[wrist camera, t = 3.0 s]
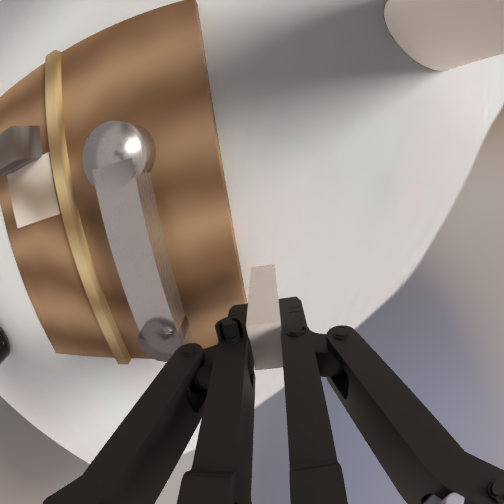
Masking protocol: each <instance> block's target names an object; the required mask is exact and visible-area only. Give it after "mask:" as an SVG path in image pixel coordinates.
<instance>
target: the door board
mask: <svg viewBox="0 0 504 504" xmlns="http://www.w3.org/2000/svg"><path fill="white" fill-rule="evenodd" d="M108 121H121V122H127V123H132V124H137V125H140V126H142V127H144V128H145V129H146V130H147V131H148V132H149V133H150V134H151V136H152V138H153V140H154V143H155V148H156V157H155V162H154V165H153V168H152V170H151V172H150V174H151V180H152V185H153V190H154V195H155V199H156V204H157V209H158V213H159V218H160V222H161V226H162V231H163V235H164V239H165V243H166V247H167V251H168V255H169V259H170V263H171V266H172V270H173V274H174V277H175V281H176V285H177V288H178V292H179V295H180V298H181V302H182V305H183V308H184V312H185V315H186V316H187V318H188V321H189V328H190V331H191V334H192V338H191V341H190V343H197V344H199V345H201V346H202V349H205V348H208V347H211V346H214V345H216V344H218V337H217V333H216V329H215V324H216V323H217V322H218V321H219V320H221V319H223V318H226V317H228V312H229V310H230V308H231V307H232V306H233V305H238V304H247V300H246V295H245V290H244V284H243V279H242V274H241V268H240V263H239V257H238V252H237V246H236V241H235V235H234V229H233V224H232V218H231V213H230V207H229V201H228V195H227V190H226V184H225V178H224V172H223V166H222V160H221V154H220V148H219V142H218V136H217V130H216V124H215V118H214V112H213V105H212V99H211V93H210V86H209V80H208V73H207V67H206V60H205V54H204V47H203V40H202V34H201V27H200V20H199V13H198V6H197V3H196V1H195V0H184V1H180V2H176V3H173V4H170V5H166V6H163V7H160V8H157V9H154V10H151V11H148V12H145V13H142V14H140V15H137V16H135V17H132V18H129V19H127V20H125V21H122V22H120V23H117V24H115V25H113V26H111V27H108V28H106V29H104V30H102V31H100V32H98V33H96V34H94V35H92V36H90V37H88V38H86V39H84V40H82V41H80V42H79V43H77V44H75V45H73V46H71V47H70V48H68V49H66V50H65V51H63V52H59V51H57V50H54V51H53V52H51V53H50V54H48V55H47V56H46V60H45V63H44V64H43V65H41V66H40V67H38V68H37V69H35V70H34V71H33V72H31V73H30V74H28V75H27V76H26V77H24V78H23V79H22V80H20V81H19V82H18V83H17V84H15V85H14V86H13V87H12V88H10V89H9V90H8V91H7V92H6V93H4V94H3V95H2V96H1V97H0V202H1V207H2V212H3V216H4V221H5V225H6V229H7V233H8V236H9V240H10V243H11V247H12V250H13V253H14V257H15V260H16V263H17V266H18V269H19V271H20V274H21V277H22V280H23V282H24V285H25V288H26V290H27V293H28V295H29V298H30V300H31V302H32V305H33V307H34V309H35V311H36V314H37V316H38V318H39V320H40V322H41V324H42V326H43V328H44V330H45V332H46V334H47V336H48V338H49V340H50V342H51V344H52V346H53V348H54V350H55V351H56V353H61V354H71V355H83V356H96V357H114V358H115V359H116V361H117V362H118V364H128V363H129V362H130V360H131V358H151V357H150V356H148V355H147V354H146V353H145V352H144V351H143V350H142V349H141V347H140V345H139V342H138V335H139V333H140V331H139V329H138V326H137V324H136V321H135V319H134V316H133V314H132V311H131V308H130V306H129V303H128V300H127V297H126V295H125V292H124V289H123V286H122V283H121V280H120V277H119V274H118V271H117V268H116V265H115V261H114V258H113V255H112V251H111V248H110V244H109V241H108V237H107V234H106V230H105V226H104V222H103V218H102V214H101V210H100V206H99V201H98V197H97V192H96V187H95V186H94V185H93V184H92V183H91V182H90V181H89V180H88V178H87V176H86V174H85V172H84V169H83V163H82V155H83V149H84V145H85V143H86V140H87V138H88V137H89V135H90V134H91V132H92V131H93V130H94V129H95V128H97V127H98V126H99V125H101V124H103V123H105V122H108Z"/></svg>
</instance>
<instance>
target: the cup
mask: <svg viewBox="0 0 504 504" xmlns="http://www.w3.org/2000/svg"><path fill="white" fill-rule="evenodd" d="M384 18H385V22H386V25H387V27H388V30H389V32H390V34H391V35H392V37H393V38H394V40H395V41H396V42H397V44H398V45H399V46H400V47H401V48H402V49H403V50H404V52H405V53H407V54H408V55H409V56H410V57H411V58H412V59H414V60H415V61H416V62H418V63H420V64H421V65H423V66H425V67H427V68H430V69H433V70H437V71H446V70H450V69H453V68H456V67H459V66H462V65H465V64H468V63H471V62H475V61H478V60H482V59H485V58H489V57H492V56H496V55H500V54H504V0H388V1H387V2H386V4H385V7H384Z"/></svg>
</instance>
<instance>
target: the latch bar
mask: <svg viewBox="0 0 504 504" xmlns="http://www.w3.org/2000/svg"><path fill="white" fill-rule="evenodd" d="M155 157H156V148H155V143H154V140H153V138H152V136H151V134H150V133H149V132H148V131H147V130H146V129H145V128H144V127H142V126H140V125H137V124H132V123H127V122H121V121H108V122H105V123H103V124H101V125H99V126H98V127H97V128H95V129H94V130H93V131H92V132H91V134H90V135H89V137H88V138H87V140H86V143H85V145H84V149H83V155H82V163H83V169H84V172H85V174H86V176H87V178H88V180H89V181H90V182H91V183H92V184H93V185H94V186H95V187H96V192H97V197H98V201H99V206H100V210H101V214H102V218H103V222H104V226H105V230H106V234H107V237H108V241H109V244H110V248H111V251H112V255H113V258H114V261H115V265H116V268H117V271H118V274H119V277H120V280H121V283H122V286H123V289H124V292H125V295H126V297H127V300H128V303H129V306H130V308H131V311H132V314H133V316H134V319H135V321H136V324H137V326H138V329H139V331H140V333H139V335H138V342H139V345H140V347H141V349H142V350H143V351H144V352H145V353H146V354H147V355H148V356H150V357H151V358H153V359H155V360H158V361H165V362H166V361H168V360H169V359H170V358H171V356H172V355H173V354H174V352H175V351H176V350H177V349H178V348H179V347H180V346H182V345H184V344H188V343H190V341H191V338H192V334H191V331H190V328H189V321H188V318H187V316H186V315H185V312H184V308H183V305H182V302H181V298H180V295H179V292H178V288H177V285H176V281H175V277H174V274H173V270H172V266H171V263H170V259H169V255H168V251H167V247H166V243H165V239H164V235H163V231H162V226H161V222H160V218H159V213H158V209H157V204H156V199H155V195H154V190H153V185H152V180H151V174H150V172H151V170H152V168H153V165H154V162H155Z"/></svg>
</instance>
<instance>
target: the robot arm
mask: <svg viewBox="0 0 504 504" xmlns="http://www.w3.org/2000/svg"><path fill="white" fill-rule="evenodd" d="M215 329H216V333H217V337H218V344H216V345H214V346H211V347H208V348H205V349H202V346H201V345H199V344H197V343H188V344H184V345H182V346H180V347H179V348H178V349H177V350H176V351H175V352H174V354H173V355H172V356H171V358H170V359H169V360H168V362H167V363H166V364H165V366H164V367H163V368H162V370H161V371H160V372H159V374H158V375H157V376H156V378H155V379H154V380H153V382H152V383H151V384H150V386H149V387H148V388H147V390H146V391H145V392H144V394H143V395H142V396H141V398H140V399H139V400H138V402H137V403H136V404H135V406H134V407H133V408H132V410H131V411H130V412H129V414H128V415H127V416H126V418H125V419H124V420H123V422H122V423H121V424H120V426H119V427H118V428H117V429H116V431H115V432H114V433H113V435H112V436H111V437H110V439H109V440H108V441H107V443H106V444H105V445H104V447H103V448H102V449H101V451H100V452H99V453H98V455H97V456H96V457H95V459H94V460H93V461H92V463H91V464H90V465H89V467H88V468H87V470H86V471H85V472H84V474H83V475H82V476H81V477H79V478H77V479H76V480H75V481H73V482H71V483H70V484H68V485H67V486H65V487H64V488H62V489H61V490H59V491H57V492H56V493H54V494H53V495H51V496H49V497H48V498H46V500H44V502H43V504H155V502H156V500H157V498H158V496H159V495H160V493H161V491H162V489H163V488H164V486H165V484H166V482H167V481H168V479H169V477H170V475H171V473H172V471H173V470H174V468H175V466H176V464H177V463H178V461H179V459H180V457H181V455H182V454H183V452H184V450H185V448H186V446H187V444H188V442H189V441H190V439H191V437H192V435H193V433H194V431H195V429H196V427H197V426H198V424H199V422H200V420H201V418H202V421H201V425H200V430H199V435H198V440H197V445H196V450H195V455H194V460H193V465H192V469H191V470H190V471H187V472H185V474H184V475H183V478H182V481H181V486H180V491H179V496H178V500H177V504H252V502H251V479H252V455H253V428H254V401H255V374H254V367H255V370H261V369H271V368H280V367H283V370H284V384H285V397H286V412H287V426H288V444H289V460H290V461H289V462H290V498H291V504H348V502H347V496H346V491H345V484H344V479H343V473H342V469H341V466H340V464H339V463H338V461H337V457H336V451H335V446H334V441H333V435H332V430H331V425H330V420H329V415H328V411H327V405H326V401H325V396H324V391H323V386H322V382H321V377H320V376H322V377H327V380H328V382H329V383H330V385H331V387H332V388H333V390H334V391H335V393H336V394H337V396H338V398H339V399H340V401H341V402H342V404H343V405H344V407H345V408H346V410H347V412H348V413H349V415H350V417H351V418H352V419H353V421H354V423H355V424H356V426H357V427H358V429H359V430H360V432H361V434H362V435H363V437H364V439H365V440H366V442H367V443H368V445H369V446H370V448H371V450H372V451H373V453H374V454H375V456H376V457H377V459H378V460H379V462H380V464H381V465H382V467H383V468H384V470H385V471H386V473H387V475H388V476H389V478H390V479H391V481H392V482H393V484H394V485H395V487H396V489H397V490H398V492H399V493H400V495H401V496H402V497H403V499H404V500H405V501H406V502H407V503H408V504H504V470H502V469H500V468H498V467H495V466H493V465H491V464H489V463H487V462H485V461H483V460H481V459H479V458H477V457H475V456H473V455H471V454H469V453H467V452H465V451H464V450H463V449H462V448H461V447H460V445H459V444H458V443H457V442H456V441H455V440H454V439H453V437H452V436H451V435H450V434H449V433H448V432H447V430H446V429H445V428H444V427H443V426H442V425H441V424H440V423H439V421H438V420H437V419H436V418H435V417H434V416H433V415H432V414H431V412H430V411H429V410H428V409H427V408H426V407H425V406H424V405H423V404H422V402H421V401H420V400H419V399H418V398H417V397H416V396H415V395H414V393H412V391H411V390H410V389H409V388H408V387H407V386H406V385H405V384H404V383H403V381H402V380H401V379H400V378H399V377H398V376H397V375H396V374H395V373H394V372H393V370H392V369H390V367H389V366H388V365H387V364H386V363H385V362H384V361H383V360H382V359H381V357H380V356H379V355H378V354H377V353H376V352H375V351H374V350H373V349H372V348H371V347H370V346H369V345H368V344H367V343H366V342H365V340H364V339H363V338H362V337H361V336H360V335H359V334H358V333H357V332H356V331H355V330H354V329H353V328H351V327H349V326H335V327H333V328H331V329H330V330H329V331H328V332H327V334H318V333H314V332H312V331H310V330H309V328H308V327H307V323H306V319H305V315H304V311H303V307H302V303H301V300H299V299H298V298H297V297H290V298H283V299H279V295H278V287H277V280H276V272H275V265H267V266H259V267H252V268H251V277H250V287H249V298H248V303H247V304H238V305H233V306H232V307H231V308H230V310H229V312H228V317H226V318H223V319H221V320H219V321H218V322H217V323H216V324H215Z"/></svg>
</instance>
